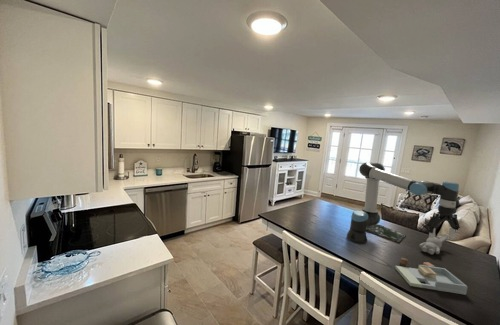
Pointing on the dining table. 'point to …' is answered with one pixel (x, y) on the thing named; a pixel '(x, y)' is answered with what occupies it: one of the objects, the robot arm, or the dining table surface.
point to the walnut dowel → (403, 262)
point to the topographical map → (386, 233)
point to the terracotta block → (427, 264)
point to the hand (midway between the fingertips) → (441, 238)
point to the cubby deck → (433, 279)
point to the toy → (433, 244)
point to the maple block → (427, 272)
